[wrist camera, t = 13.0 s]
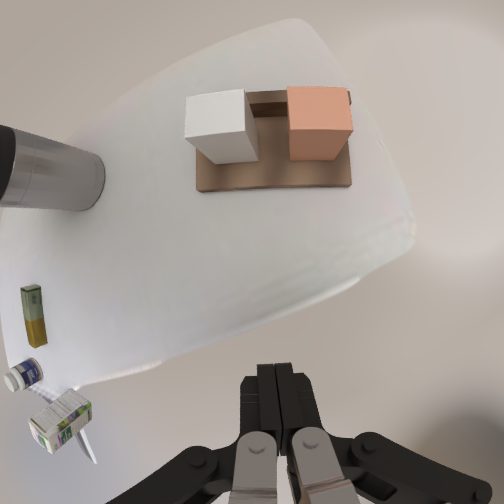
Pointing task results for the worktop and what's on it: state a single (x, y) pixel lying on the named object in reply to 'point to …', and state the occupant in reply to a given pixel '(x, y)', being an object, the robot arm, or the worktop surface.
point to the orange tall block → (317, 122)
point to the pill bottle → (23, 375)
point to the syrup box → (60, 420)
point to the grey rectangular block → (222, 126)
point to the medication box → (33, 315)
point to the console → (272, 156)
